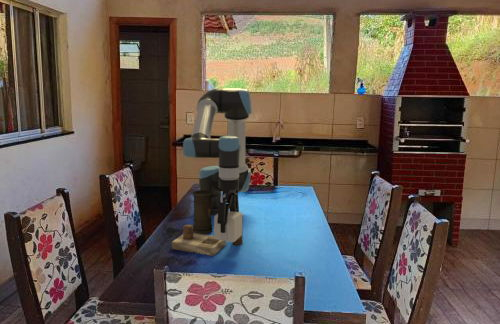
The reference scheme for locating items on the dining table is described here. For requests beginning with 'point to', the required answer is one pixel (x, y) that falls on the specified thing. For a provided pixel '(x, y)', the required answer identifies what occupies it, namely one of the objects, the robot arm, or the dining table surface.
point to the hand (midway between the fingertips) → (228, 236)
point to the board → (197, 242)
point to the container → (202, 212)
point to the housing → (230, 226)
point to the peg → (239, 240)
